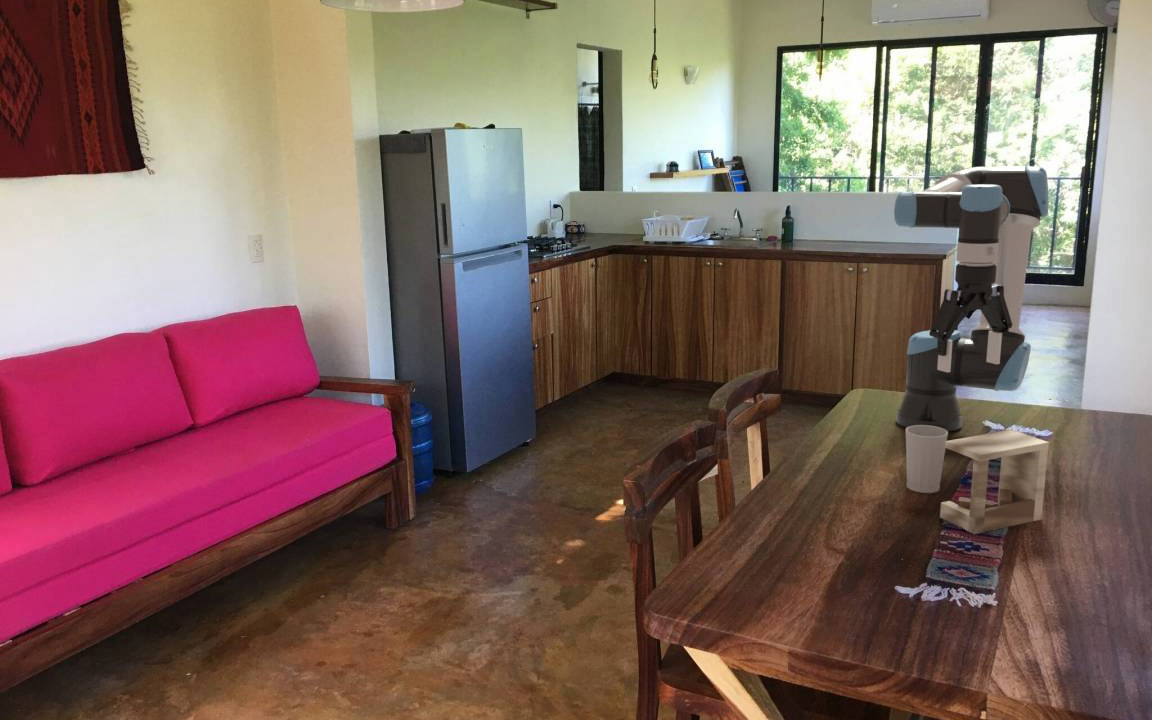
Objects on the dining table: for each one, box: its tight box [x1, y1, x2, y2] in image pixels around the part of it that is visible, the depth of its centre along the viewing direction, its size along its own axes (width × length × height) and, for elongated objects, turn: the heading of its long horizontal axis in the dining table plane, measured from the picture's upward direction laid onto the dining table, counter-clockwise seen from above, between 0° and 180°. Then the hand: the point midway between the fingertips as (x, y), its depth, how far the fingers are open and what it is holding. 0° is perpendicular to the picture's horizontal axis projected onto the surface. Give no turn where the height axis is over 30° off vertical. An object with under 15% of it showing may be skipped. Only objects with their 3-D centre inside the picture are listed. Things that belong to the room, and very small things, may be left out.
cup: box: [905, 425, 949, 494], centre depth 188 cm, size 8×8×12 cm
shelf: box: [939, 429, 1050, 535], centre depth 172 cm, size 8×16×15 cm, turn 112°
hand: (968, 367), depth 191 cm, fingers open, 13 cm apart
